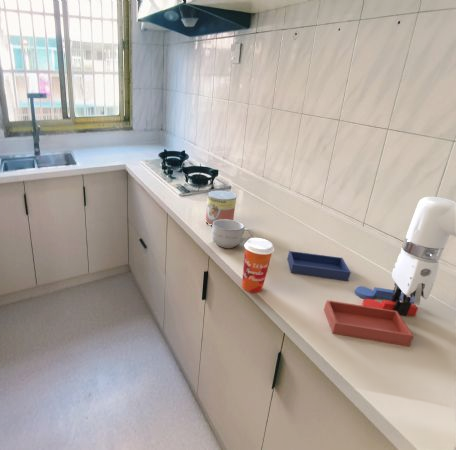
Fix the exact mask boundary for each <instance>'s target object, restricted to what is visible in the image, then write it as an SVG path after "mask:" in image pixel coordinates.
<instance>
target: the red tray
mask: <svg viewBox="0 0 456 450" xmlns="http://www.w3.org/2000/svg"><path fill="white" fill-rule="evenodd" d="M323 311H324V314H325V316H326V319H327V322H328V325H329V327H330V330H331V333H332V334H335V335H340V336H345V337H352V338H357V339H362V340H363V339H364V340H369V341H376V342H381V343H387V344H393V345H398V346H404V347H411V344H412V342H413V341H414V338H415V335H414V334H413V332H412V331H411V330H410V327H409V326H408V325H407V324H406V322H405V321H404V319H403V318H402V315H399V313H398V312H397V311H394V310H388V309H381V308H374V307H368V306H362V304H354V303H348V302H341V301H335V300H329V299H327V300H326V301H325V304H324V308H323Z"/></svg>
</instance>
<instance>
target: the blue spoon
mask: <svg viewBox="0 0 456 450" xmlns="http://www.w3.org/2000/svg"><path fill="white" fill-rule="evenodd" d="M393 290H394V289H389V288H383V287H376V286H375V287H374V288H373V289H371V288H369V287H366V286H363V285H362V286H361V285H360V286H357V287H355V291H354V293H355V295H356V296H357V297H359V298H361V299H363V300H364V299H373V300H374V298H375V299H381V300H387V301H391V298H392V296H393V295H395V294H393Z"/></svg>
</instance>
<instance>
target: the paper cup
mask: <svg viewBox="0 0 456 450" xmlns="http://www.w3.org/2000/svg"><path fill="white" fill-rule="evenodd" d="M243 246H244V257H243V266H242V267H243V268H242V282H241V287H242V289H243V290H245V291H246V292H248V293H253V294H258V293H260V292H262V291H263V288H264V285H265V280H266V277H267V274H268V269H269V266H270V261H271V258H272V255H273V253H274V252H275V248H274V247H275V246H274V245H273V243H272V242H271V241H270V240H268V239H265V238H261V237H251V238H250V239H248V240H246V241H245V242H244V245H243Z"/></svg>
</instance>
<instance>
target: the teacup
mask: <svg viewBox="0 0 456 450" xmlns="http://www.w3.org/2000/svg"><path fill="white" fill-rule="evenodd" d="M245 232H249V235H248V236H247V237H243V235H244V234H245ZM253 235H254V232H253V230H252V229H251V228H250V227H245V225H244V224H243V223H242V222H240V221H237V220H234V219H233V220H228V219H220V220H216V221H214V222H213V227H212V229H211V238H212V241H213V242H214V243H215V244H216V245H217V246H218V247H221V248H225V249H232V248H235V247H237V246H238V245H239V244H243V242H247V241H248V239H250V238H253Z"/></svg>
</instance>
